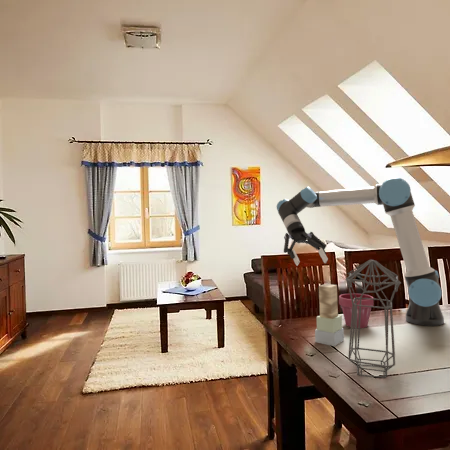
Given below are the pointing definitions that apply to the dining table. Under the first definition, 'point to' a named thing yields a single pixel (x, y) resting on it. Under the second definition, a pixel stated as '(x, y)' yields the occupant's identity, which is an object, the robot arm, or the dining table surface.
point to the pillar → (328, 301)
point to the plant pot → (365, 311)
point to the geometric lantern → (354, 307)
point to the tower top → (329, 324)
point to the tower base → (329, 337)
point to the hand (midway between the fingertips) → (312, 262)
